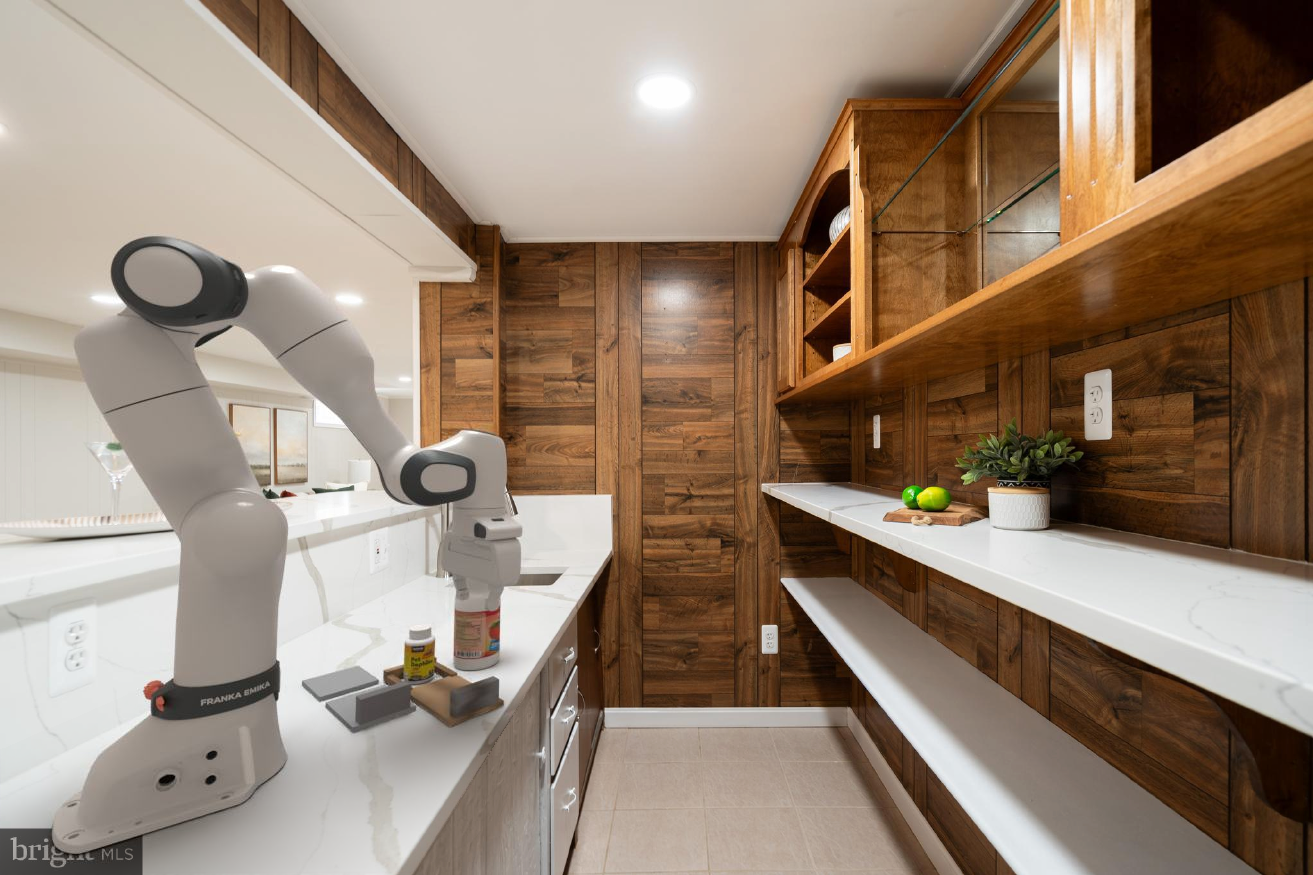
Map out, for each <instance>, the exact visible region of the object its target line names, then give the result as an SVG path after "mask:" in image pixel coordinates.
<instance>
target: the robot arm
mask: <svg viewBox="0 0 1313 875" xmlns="http://www.w3.org/2000/svg"><path fill="white" fill-rule="evenodd" d="M110 280H111V283H112V286H113V288H114V290H115V292H116V294H117V296H118V297H119V299H120V300H121V301H122V303H123V304H125V308H124V309H122V310H121V312H118V313H117V314H116V315H109V316H106V317H102V318H99V319H95V320H94V321H92V322H90V323H87V325H85V326H83V327H82V328H81V329H80V330H79V331H78V332H77V333H76V335H75V337H74V339H73V340H74V341H73V347H74V353H75V356H76V359H77V363H78V366H79V369H80V371H81V375H82V377H83V378H84V381H85V384H86V386H87V389H88V391H89V392H90V394H91V397H92V399H93V401H94V402H95V404H96V407H97V408H98V410H99V412H100V413H101V415H102V417H103V418H104V421H105V422H106V423H107V426H108V427H109V428H110V429H111V430H110V431H112V433H113V435H114V436H115V438H116V440H117V441H118V443H119V445H120V446H121V448H122V450H123V451H124V453H125V455H126V457H127V458H128V460H129V461H130V463H131V465H132V466H133V468H134V470H135V471H136V473H137V475H138V476H139V478H140V479H141V481H142V482H143V484H144V485H145V487H146V488H147V490H148V491H149V493H150V495H151V496H152V498H153V500H154V502H156V505H157V506H158V507H159V509H160V510H161V512H162V514H163V516H164V517H165V518H166V520H167V521H168V524H169V525H170V527H171V529H172V530H173V532H174V533H175V535H176V536H177V539H178V540H179V543H180V557H179V559H180V560H179V561H180V562H179V578H178V593H177V603H176V604H177V606H176V617H175V618H176V619H175V632H174V633H175V637H174V638H175V639H174V658H173V659H174V660H173V677H172V678H171V679H169V680H168V681H166V682H165V683H164V682H162V681H161V680H158V679H157V680H153V681H152V680H151V681H150V682H148V683H147V684H146V686H144V687H143V689H142V690H143V692H142V693H143V695H144V697H145V699H146V700H149V701H150V714H149V715H148V716H146V717H145V718H144V719H143V720H141V721H140V722H139V723H138V724H136V725H135V726H134V727H132V728H131V729H130V730H129V731H127V732H126V733H125V734H124V735H122V736H120V738H118V739H117V740H115V741H114V742H113V743H112V744H110V745H109V746H108V747H106V748H105V749H104V750H103V751H102V752H100V754H98V755H97V757H96V758H95V760H94V762H93V763H92V764H91V767H90V768H89V771H88V773H87V775H86V779H85V781H84V785H83V788H82V791H80V792H77V793H75V794H74V795H73V796H71V797H70V798H68V800H67V801H65V802H64V803H63V804H62V805H61V807H59V809H58V810H57V812H56V814H55V816H54V818H53V819H54V820H53V822H52V823H53V824H52V829H51V837H52V838H51V839H52V842H53V845H54V846H55V847H56V848H57V849H58V850H59V851H62V852H64V853H68V854H74V855H75V854H82V853H86V852H89V851H93V850H96V849H99V848H102V847H107V846H109V845H113V844H115V843H118V842H119V843H120V842H122V841H125V840H128V839H132V838H134V837H138V836H141V835H144V834H148V833H150V832H154V831H158V830H161V829H163V828H167V827H170V826H173V825H177V824H179V823H183V822H186V821H190V820H193V819H197V818H199V817H203V816H205V815H209V814H212V813H214V812H218V811H221V810H224V809H228V808H231V807H234V806H239V805H240V804H242V803H244V802H246V801H247V800H248V799H249V798H250V797H251V796H252V795H253V794H254V792H255V791H256V790H257V788H258V787H259V786H261V785H262V784H263V783H265V782H266V781H268V780H269V779H270V778H272V777H273V776H274V775H275V774H277V773H278V772H279V771H280V770H281V769H282V768H283V766H284V765H285V763H286V761H287V757H288V754H287V752H286V750H285V746H284V743H283V740H282V735H281V730H280V724H279V715H278V704H277V702H278V701H279V697H280V695H279V694H280V692H281V674H282V673H281V667H280V666H281V665H280V661H281V660H278V658H277V654H278V652H277V651H278V649H277V648H278V630H279V628H278V626H279V605H280V598H281V593H282V587H283V580H284V573H285V567H286V566H285V565H286V559H287V547H288V538H289V537H288V535H289V523H288V519H287V517H286V514H285V513H284V511H283V510H282V509H281V508H280V506H278V504H276V503H275V502H273V501H272V500H271V499H269V498H267V497H266V496H265V494H264V492H263V490H262V487H261V486H260V484H259V482H258V480H257V477H256V476H255V474H254V471H253V470H252V467H251V465H250V463H249V460H248V458H247V457H246V454H245V451H244V449H243V447H242V445H241V442H240V439H239V437H238V436H237V434H236V432H235V430H234V427H233V426H232V424H231V423H230V420H229V419H228V417H227V415H226V413H225V411H224V409H223V407H222V406H221V404H220V402H219V400H218V399H217V397H216V395H215V393H214V391H213V389H212V388H211V386H210V384H209V382H208V380H207V378H206V377H205V374H204V373H203V371H202V370H201V368H200V365H199V363H198V360H197V357H196V355H195V354H196V353H195V348H199V347H201V346H203V345H204V344H206V343H208V342H210V341H211V340H213V339H215V338H216V337H218V336H220V335H222V334H225V333H226V332H228V331H229V330H230V329H231V328H233V327H237V328H241V329H244V331H247V332H249V333H251V335H253V336H254V337H255V338H256V339H257V340H258V341H259V342H260V343H261V344H262V345H263V346H264V347H265V348H266V349H267V350H268V351H269V353H270V354H271V355H272V357H274V360H276V361H277V362H278V364H279V365H280V366H281V367H282V368H283V369H284V370H285V371H286V372H287V373H288V374H289V375H290V376H291V378H293V379H294V380H295V381H296V382H297V383H298V384H299V385H300V386H301V387H303V389H305V390H306V391H307V392H308V393H310V394H311V395H312V396H313V397H314V398H316V399H317V400H318V401H319V402H320V403H321V404H323V405H324V406H325V407H326V408H328V409H329V410H330V411H331V412H332V413H334V415H336V416H337V417H338V418H339V419H340V421H342V423H343V424H344V425H345V426H346V428H348V429H349V431H350V432H351V433H352V435H353V436H354V437H355V439H357V441H358V442H359V443H360V444H361V446H362V447H363V448H364V449H365V450H366V452H367V453H368V454H369V456H370V457H371V459H372V460H373V461H374V464H375V465H376V467H377V471H378V475H379V479H380V483H381V485H382V488H383V490H384V492H385V493H386V495H388V497H389V498H391V499H392V500H393V501H394V502H397V503H399V504H401V505H408V506H418V507H422V508H435V507H439V506H441V505H445V504H450V503H452V513H451V522H450V524H449V525H448V526H447V530H446V532H445V533H444V535H443V539H442V544H441V551H440V552H441V553H440V554H441V555H440V566H441V569H442V571H443V572H446V573H450V574H452V580H453V585H454V588H455V596H456V599H458V600H462V601H463V600H467V599H469V589H467V583H466V578H470V579H473V580H477V581H480V582H483V583H487V584H488V590H490V593H489V596H488V599H485V609H486V610H489V611H495V610H497V609H498V608H499V599H500V597H501V596H502V594H503V592H504V589H505V587H511V586H515V585H516V584H518V581H519V580H520V577H521V570H522V569H521V568H522V546H521V542H520V540H519V539H518V538H521V537H522V535H523V526H522V524H521V523H520V522H518V521H516V520H515V518H513V517H512V516H511V515H510V514H509V513H507V503H506V499H505V488H506V486H507V481H508V465H507V464H508V463H507V462H508V461H507V460H508V459H507V450H506V444H505V442H504V440H503V438H501V436H499V435H497V434H495V433H492V432H489V431H484V430H481V429H479V430H478V429H471V428H469V429H468V428H467V429H462V430H460V431H459V432H458V433H456V434H455V435H453V436H451V437H449V438H447V439H445V440H443V441H440V442H438V443H435V444H431V445H429V446H426V447H423V448H422V447H419V446H417V445H416V444H414V443H412V442H411V441H410V440H409V439H408V438H407V437H406V435H405V434H404V433H403V431H402V430H401V429H400V427H399V426H398V425H397V424H396V422H395V421H394V420H393V418H392V417H391V415H390V414H389V413H388V412H387V410H386V408H384V407H383V405H382V403H381V401H380V399H379V397H378V395H377V392H376V386H375V361H374V359H373V356H372V354H371V352H370V350H369V348H368V347H367V345H366V343H365V341H364V339H363V338H362V337H361V335H360V333H359V332H358V331H357V330H356V328H355V327H354V325H353V324H352V323H351V321H350V320H349V318H347V317H346V316H345V314H344V313H343V312H342V311H341V309H339V307H338V306H337V305H336V303H335V302H334V301H333V300H332V299H331V298H330V297H329V296H328V295H327V294H326V293H325V292H324V291H323V290H322V289H321V288H320V287H319V286H318V285H317V284H316V283H314V281H313V280H311V279H310V278H309V277H308V276H307V275H306V274H305V273H303V272H302V271H301V270H300V269H297V268H296V267H294V266H291V265H287V264H270V265H265V266H261V267H259V268H255V269H253V270H252V271H247V272H244V271H243V269H242V268H241V267H240V265H238V264H236V263H235V262H232V261H231V260H228V259H227V258H225V257H222V256H220V255H218V254H215V253H213V252H211V251H210V250H208V249H206V248H204V247H202V246H199V245H197V244H195V243H192V242H189V241H186V240H183V239H180V238H176V237H173V236H172V237H170V236H163V235H152V236H144V237H139V238H136V239H134V240H131V241H129V242H128V243H126V244H124V245H123V246H122V247H121V248H120V249H119V250H118V251H117V252H116V254H115V255H114V257H113V258H112V261H111V265H110Z"/></svg>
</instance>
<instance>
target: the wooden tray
mask: <svg viewBox="0 0 1313 875" xmlns="http://www.w3.org/2000/svg"><path fill="white" fill-rule="evenodd" d="M437 658H438V657H436V656H435V661H434V673H437V674H438V675H440V676H442V678H439V679H435V680H433V681H429V682H425V683H422V684H420V685H418V686H414V687H413V686H411V700H410V701H412V702H413V703H415V705H416V704H417V705H418V706H419V707H421V709H424V710H426V711H427V712H428V713H429V714H431V715H432V716H434V717H435V718H437V719H438V720H440V721H441V722H443V723H444V724H445V725H447V726H448V727H452V726H455V725H457V724H459V723H462V722H464V721H467V720H470V719H472V718H474V717H477V716H480V715H482V714H485V713H487V712H490V711H493V710H496V709H497V708H500V707H503V706H504V705H505V700H504V699H502V698H500V679H499V678H498V677H496V676H494V675H492V676H489V677H486V678H484V679H480V680H478V681H474V682H471V681H469V680H467V679H466V678H464V677H461V676H460V675H458V672H457V671H455V670H453V669H451V668H449V667H447V666H445V665H444V664H442V663H440V662H438V661H437ZM382 674H383V677H382V680H383V682H385V684H386V685H388V686H390V685H394V684H397V683H400V682H403V681H404V680H402V679H403V676H404V663H403V664H401V665H397V666H393V667H390V668H387V669H386V668H385V669H383V673H382Z"/></svg>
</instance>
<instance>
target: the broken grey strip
mask: <svg viewBox="0 0 1313 875" xmlns="http://www.w3.org/2000/svg"><path fill="white" fill-rule="evenodd" d="M402 681H403V682H400V683H397V684H394V685H388V684H387V683H385V684H381V685H379V684H380V680H379V678H377V677H375V676H374V675H373V674H371V673H370V672H368V671H367V670H365V669H364V668H362V666H360V665H355V666H352V667H347V668H344V669H340V670H337V671H333V672H330V673H325V674H323V675H322V674H321V675H318V676H314V677H311V678H307V679H303V680H301V685H302V687H304V688H305V690H306V691H308V692H309V693H310V695H312V696H313V697H314V698H315V699H316V700H317V701H318V702H324V701H325V708H326V709H327V710H328V711H329V712H330V713H331V714H332V715H333V716H334V717H335V718H337V719H338V721H340V722H341V723H342V724H343V725H344V726H346V728H347V729H348V730H349V731H350V732H351V733H352V734H353V733H356V732H359V731H362V730H365V729H367V728H370V727H373V726H375V725H378V724H382V723H385V722H387V721H390V720H392V719H396V718H398V717H401V716H404V715H407V714H410V713H413V712H416V711H417V705H416V704H414V702H413V701H412V700H411V687H412V684H410V683H409V682H407V681H404V680H402ZM376 685H378V686H376ZM373 686H376V687H373ZM371 687H372V688H371ZM366 688H368V689H366ZM362 689H363V690H362ZM357 691H359V692H357ZM353 692H355V693H353ZM349 693H352V694H349ZM347 694H348V695H347ZM343 695H344V696H343ZM340 696H343V697H340ZM337 697H338V698H337ZM333 698H335V699H333ZM330 699H331V700H330ZM327 700H329V701H327ZM411 701H412V702H411Z"/></svg>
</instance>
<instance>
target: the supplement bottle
mask: <svg viewBox="0 0 1313 875" xmlns="http://www.w3.org/2000/svg"><path fill="white" fill-rule="evenodd" d="M408 634H409V635H408V636H407V638H405V640H404V649H403V650H404V652H403V653H404V654H403V655H404V656H403V664H404V676H403V678H402V679H403V681H407V682H409V683H410V684H411V685H419V684H420V685H422V684H426V683H428V682H430V681H431V680H432V679H433V678H434V677H435V676H434V675H435V671H434V661H435V657H436V654H435V653H436V637H435V635H434V634H432V625H431V624H425V623H424V624H416V625H413V626H411V627H410V628H409V633H408Z"/></svg>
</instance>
